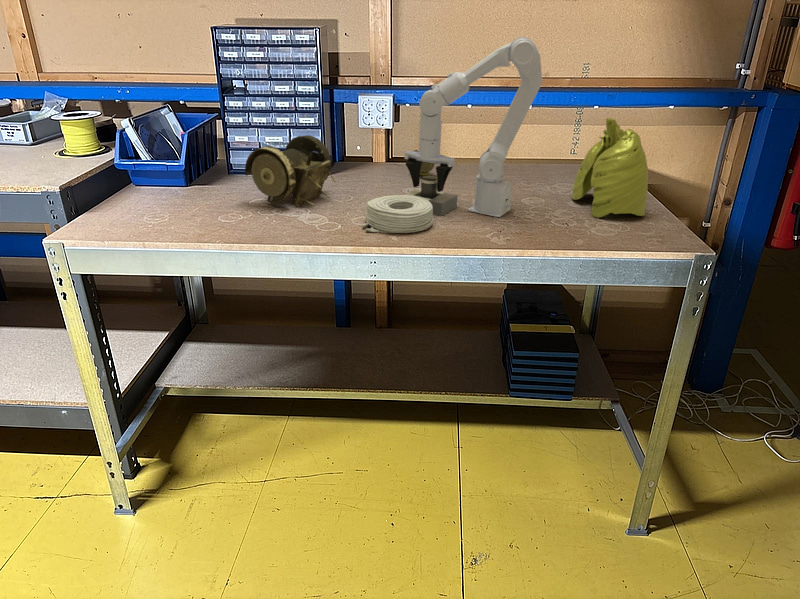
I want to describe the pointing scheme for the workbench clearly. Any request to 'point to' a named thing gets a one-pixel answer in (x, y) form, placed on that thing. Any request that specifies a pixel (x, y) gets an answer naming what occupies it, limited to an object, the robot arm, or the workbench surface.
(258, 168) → the bench grinder
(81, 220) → the workbench surface
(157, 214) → the workbench surface
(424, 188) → the knob
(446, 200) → the hollow square frame
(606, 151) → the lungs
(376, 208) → the cable
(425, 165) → the olive spiky cup
